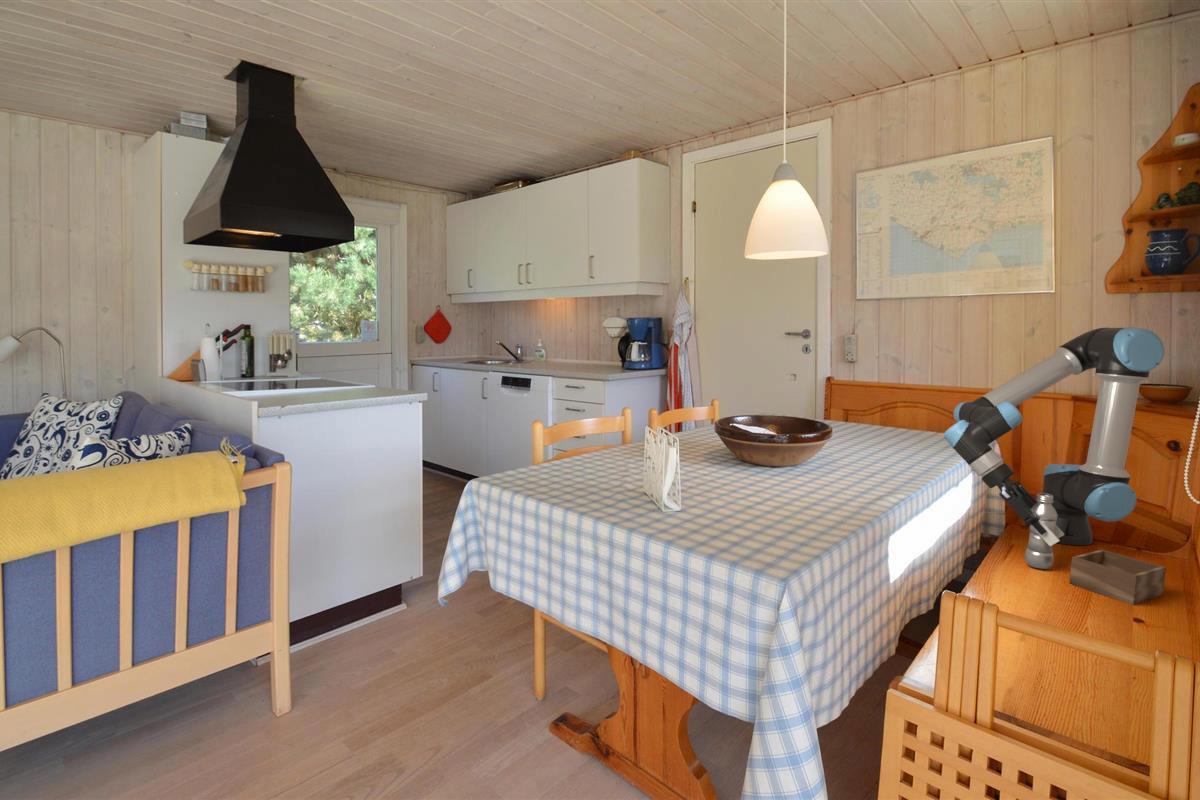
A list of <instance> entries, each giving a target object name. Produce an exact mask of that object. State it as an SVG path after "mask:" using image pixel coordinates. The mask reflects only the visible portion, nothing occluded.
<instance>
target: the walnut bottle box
mask: <svg viewBox="0 0 1200 800" xmlns="http://www.w3.org/2000/svg"><path fill="white" fill-rule="evenodd" d="M1166 571H1167V566H1163V565H1159V564H1155V563H1152V562H1147V561H1145V560H1141V559H1137V558H1134V557H1130V556H1126V555H1124V554H1120V553H1116V552H1112V551H1109V550H1105V549H1099V550H1095V551H1091V552H1087V553H1082V554H1079V555H1074V556H1072V557H1071V565H1070V574H1069V582H1068V583H1069V585H1071V584H1072V586H1074V585H1075V587H1077V586H1078V587H1077V588H1080V587H1081V589H1083V588H1084V590H1086V589H1087V590H1086V591H1089V590H1090V592H1092V591H1093V593H1095V592H1096V594H1099V595H1101V596H1105V597H1108V598H1111V599H1113V598H1115V599H1114V600H1116V599H1118V600H1117V601H1119V600H1120V602H1122V601H1124V602H1123V603H1125V602H1126V604H1128V603H1129V604H1128V605H1131V604H1132V605H1131V606H1135V605H1137V603H1138V604H1140V602H1141V603H1143V601H1144V602H1146V600H1147V601H1150V600H1153V599H1155V597H1156V598H1158V596H1159V597H1161V595H1162V596H1163V595H1164V589H1165V581H1166V574H1167V573H1166ZM1152 598H1153V599H1152ZM1149 599H1150V600H1149ZM1134 604H1135V605H1134Z"/></svg>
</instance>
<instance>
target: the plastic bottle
mask: <svg viewBox="0 0 1200 800" xmlns="http://www.w3.org/2000/svg"><path fill="white" fill-rule="evenodd" d="M1035 500H1036V501H1037V503H1036V504H1035V505H1034V506H1033V507H1032V508H1031V510H1032V512H1033V513H1034V514H1035V515H1036V517H1037V518H1038V519H1039V520H1040V519H1041V520H1042V522H1043V523H1044V524H1045V525H1046V526H1047V527H1048V528H1049V529H1050V530H1051V531H1052V532H1053V533H1054V529H1055V526H1056V522H1057V518H1058V515H1057V512H1056V510H1055V508H1054V507H1053V506H1052V503H1053V495H1050V494H1045V493H1043V492H1042V493H1041V492H1039V493H1037V494H1036V498H1035ZM1053 550H1054V544H1053V545H1051V546H1049V545H1048V544H1047V543H1046V542H1045V540H1044V539H1043V538H1042V537H1041V536H1040V535H1039V534H1038V533H1037V532H1036V531H1035V530H1034V528H1033V527H1032V526H1031V525H1030V526H1029V538H1028V543H1027V547H1026V549H1025V553H1024V560H1025V561H1024V562H1025V563H1026V564H1027V565H1028V566H1030V567H1032V568H1036V569H1041V570H1042V569H1043V570H1048V569H1050V568H1051V567H1052V566H1053V564H1054V561H1055V559H1054V556H1055V555H1054V551H1053Z"/></svg>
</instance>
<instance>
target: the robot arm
mask: <svg viewBox="0 0 1200 800" xmlns="http://www.w3.org/2000/svg"><path fill="white" fill-rule="evenodd" d="M1164 355H1165V346H1164V342H1163V341H1162V339H1161V338H1160V337H1159V335H1157V334H1156V333H1155V332H1153V331H1152V330H1150V329H1146V328H1142V327H1141V328H1140V327H1133V326H1132V327H1098V328H1093V329H1091V330H1088V331H1086V332H1085V333H1082V334H1080V335H1078V336H1076V337H1074V338H1073V339H1071V340H1069V341H1067V342H1065V343H1063V344H1062V345H1060V346H1058V347H1057V348H1055V349H1054V353H1053V354H1052V355H1050V356H1047V358H1045V359H1043V360H1041V361H1040V362H1038V363H1036V364H1035V365H1033V366H1031V367H1029V368H1027V369H1026V370H1025V371H1022V372H1021V373H1020V374H1018V375H1017V374H1016V376H1014V377H1013V378H1011V379H1009V380H1007V381H1005V382H1004V383H1002V384H1001V385H999V386H997V387H995V388H993V389H991V390H990V391H988V392H986V393H985V394H983V395H982V396H980V397H978V398H976V399H975V400H973V401H963V402H960V403H959V404H957V405H956V407H955V408H954V410H953V418H954V421H955V422H956V423H954V424H953V425H952V426H950V427H949V428H948V429H947V430H945V432H944V433H943V438H944V439H945V440H946V442H948V444H949V446H950V447H951V448H952V449H953V450H954V451H955V452H956V453H957V454H958V455H959V456H960V457H961V458H962V459H963V460H964V462H965V463H967V465H968V466H969V467H970V470H971V472H975V474H976V475H977V476H978V477H980V476H981V480H982V481H983V482H984V484H986V486H987V487H988V489H993V488H995V487H996V486H997V488H998V489H999V491H1000V493H999V496H1000V497H1001V498H1002V500H1004V501H1005V502H1006V503H1007V504H1008V505H1009V506H1010V508H1011V509H1012V510H1013V511H1014V512H1015V513H1016V515H1017V516H1018V517H1019V519H1021V520H1022V521H1023V523H1024V524H1025V526H1026V527H1030V525H1031V526H1032V527H1033V528H1034V530H1035V531H1036V532H1037V533H1038V534H1039V535H1040V536H1041V537H1042V538H1043V539H1044V540H1045V542H1046V543H1047V544H1048V545H1049V546H1051V545H1053V546H1054V545H1055V544H1062V545H1069V546H1088V545H1091V544H1093V538H1094V537H1093V532H1092V528H1091V524H1090V522H1089V518H1093V519H1095V520H1100V521H1103V522H1108V523H1109V522H1118V521H1120V520H1123V519H1124V518H1125V517H1128V516H1129V515H1131V514H1132V512H1134V510H1135V508H1136V505H1137V498H1138V497H1137V493H1136V492H1135V490H1134V489H1133V488H1132V486H1130V481H1131V475H1130V474H1129V473H1128V471H1127V470H1126V469H1125V466H1126V463H1127V457H1128V451H1129V445H1130V440H1131V436H1132V430H1133V423H1134V418H1135V412H1136V406H1137V403H1138V401H1137V400H1138V395H1139V390H1140V385H1141V384H1142V383H1143V382H1145V381H1147V380H1148V379H1149V376H1150V372H1151V371H1152V370H1154V369H1155V368H1157V366H1158V365H1160V364H1162V361H1163V359H1164V357H1165V356H1164ZM1092 369H1095V373H1094V375H1096V377H1097V378H1098V379H1099V381H1100V383H1099V389H1098V395H1097V400H1096V405H1095V406H1096V407H1095V411H1094V417H1093V421H1092V422H1093V424H1092V430H1091V434H1090V440H1089V446H1088V452H1087V457H1086V462H1085V463H1084V464H1069V463H1049V464H1046V466H1045V469H1044V472H1043V483H1042V493H1045V494H1050V495H1053V503H1052V506H1053V507H1054V508H1055V510H1056V512H1057V515H1058V518H1057V522H1056V526H1055V529H1054V533H1053V532H1052V531H1051V530H1050V529H1049V528H1048V527H1047V526H1046V525H1045V524H1044V523H1043V522H1042V520H1041V519H1040V520H1039V519H1038V518H1037V517H1036V515H1035V514H1034V513H1033V512H1032V510H1031V508H1032V507H1033V506H1034V505H1035V504H1036V503H1037V501H1036V498H1034V497H1033V495H1031V494H1030V493H1029V492H1028V491H1027V489H1025V487H1024V486H1023V485H1022V484H1021V482H1020V481H1018V480H1017V481H1014V480H1012V479H1011V478H1010V477H1011V476H1013V475H1014V474H1015V471H1014V470H1013V469H1012V468H1011V467H1010V466H1009V465H1008V464H1007V463H1005V462H1004V463H1003V460H1004V459H1003V458H1001V456H1000V455H999V454H998V453H997V452H996V451H995V450H994V449H993V448H992V447H991V446H990V444H991V443H993V442H995V441H996V440H998V439H999V438H1001V437H1002V436H1004V435H1006V434H1007V433H1008V432H1010V431H1013V430H1014V429H1015V428H1016V427H1017V426H1019V425H1020V424H1021V423H1022V421H1023V416H1022V415H1023V414H1021V411H1020V410H1019V409H1018V408H1017V406H1019V405H1021V404H1022V403H1024V402H1026V401H1028V400H1030V399H1031V398H1033V397H1035V396H1037V395H1038V394H1040V393H1042V392H1044V391H1046V390H1047V389H1048V388H1050V387H1052V386H1054V385H1056V384H1057V383H1059V382H1061V381H1062V380H1064V379H1066V378H1068V377H1070V376H1071V375H1074V376H1077V375H1080V374H1081V373H1084V372H1087V371H1089V370H1092Z"/></svg>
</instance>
